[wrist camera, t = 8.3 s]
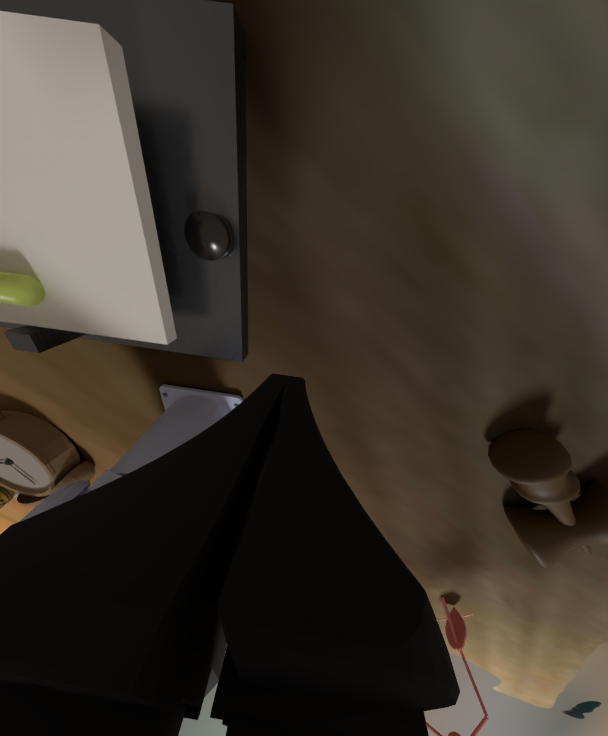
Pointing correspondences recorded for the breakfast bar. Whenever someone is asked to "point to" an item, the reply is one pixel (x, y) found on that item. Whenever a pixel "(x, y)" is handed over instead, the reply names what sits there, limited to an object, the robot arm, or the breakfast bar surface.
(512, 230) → the breakfast bar surface
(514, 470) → the kendama
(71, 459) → the alarm clock
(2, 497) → the condiment
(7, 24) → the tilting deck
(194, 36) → the base
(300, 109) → the breakfast bar surface
